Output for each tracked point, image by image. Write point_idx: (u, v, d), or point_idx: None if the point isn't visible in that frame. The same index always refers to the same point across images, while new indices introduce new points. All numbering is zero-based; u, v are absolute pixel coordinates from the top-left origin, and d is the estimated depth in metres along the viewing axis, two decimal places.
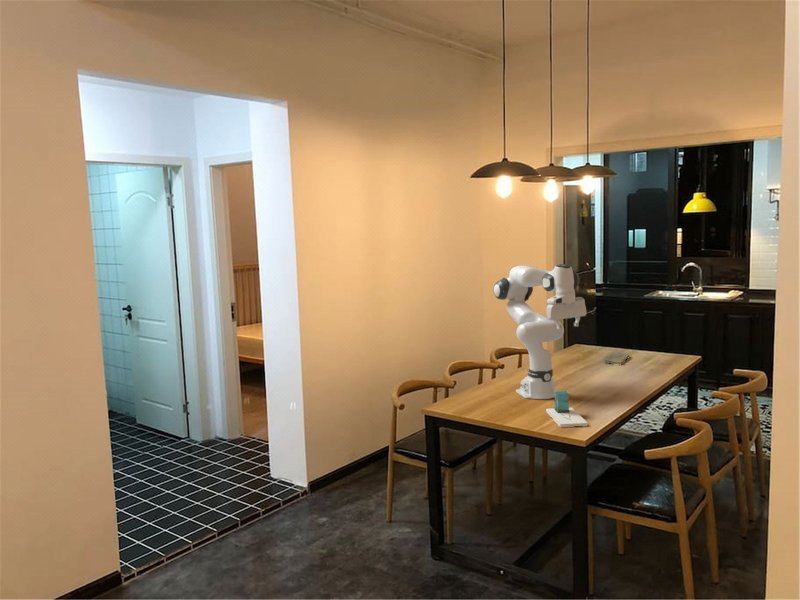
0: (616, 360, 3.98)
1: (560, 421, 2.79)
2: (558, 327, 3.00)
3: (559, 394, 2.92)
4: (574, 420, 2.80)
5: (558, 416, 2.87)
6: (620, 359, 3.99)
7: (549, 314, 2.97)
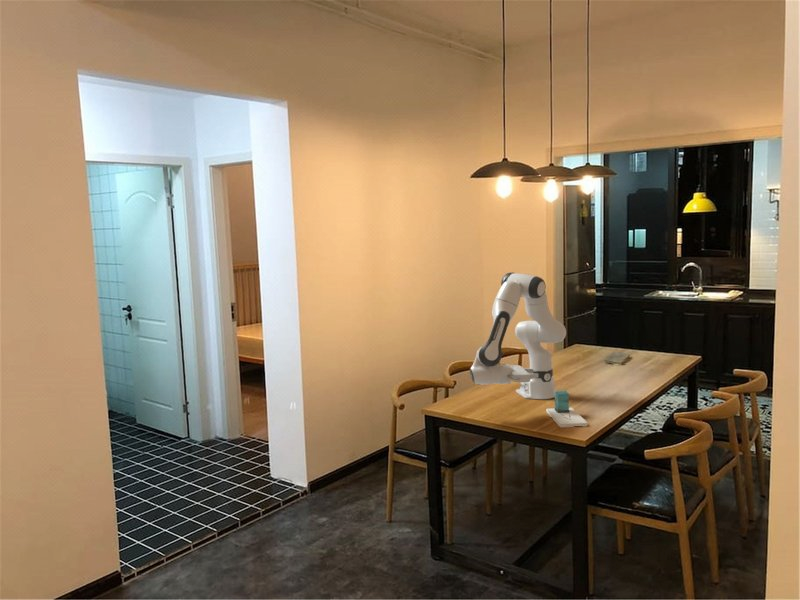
0: (616, 360, 3.98)
1: (560, 421, 2.79)
2: None
3: (559, 394, 2.92)
4: (574, 420, 2.80)
5: (558, 416, 2.87)
6: (620, 359, 3.99)
7: None
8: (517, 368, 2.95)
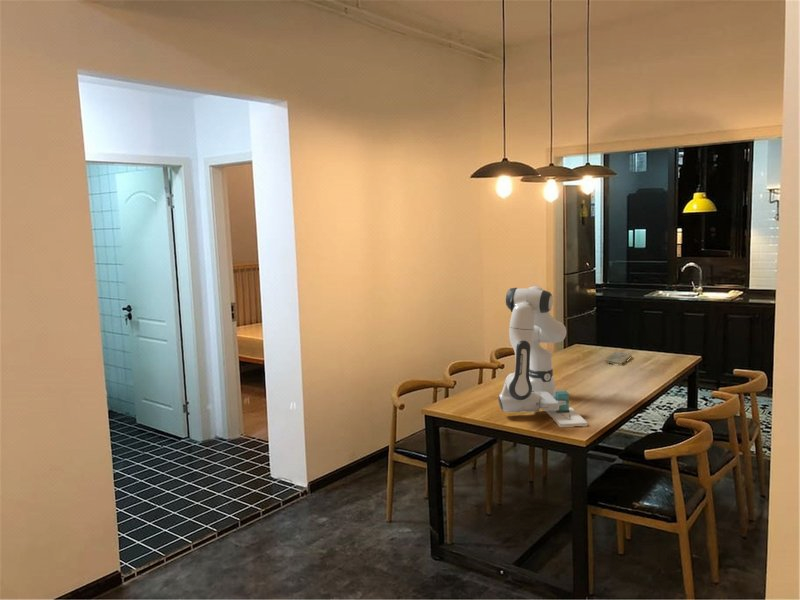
0: (617, 360, 3.97)
1: (560, 421, 2.79)
2: None
3: (559, 394, 2.92)
4: (574, 420, 2.80)
5: (558, 416, 2.87)
6: (621, 359, 3.98)
7: None
8: (545, 395, 2.97)
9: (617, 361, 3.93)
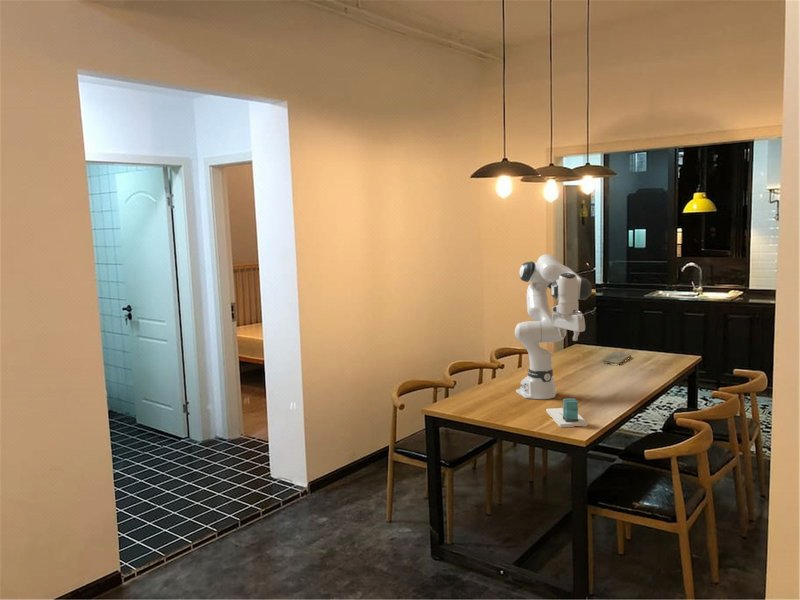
0: (615, 360, 3.97)
1: (560, 421, 2.79)
2: None
3: (568, 402, 2.78)
4: None
5: (558, 416, 2.87)
6: (619, 359, 3.98)
7: None
8: None
9: (614, 361, 3.94)
